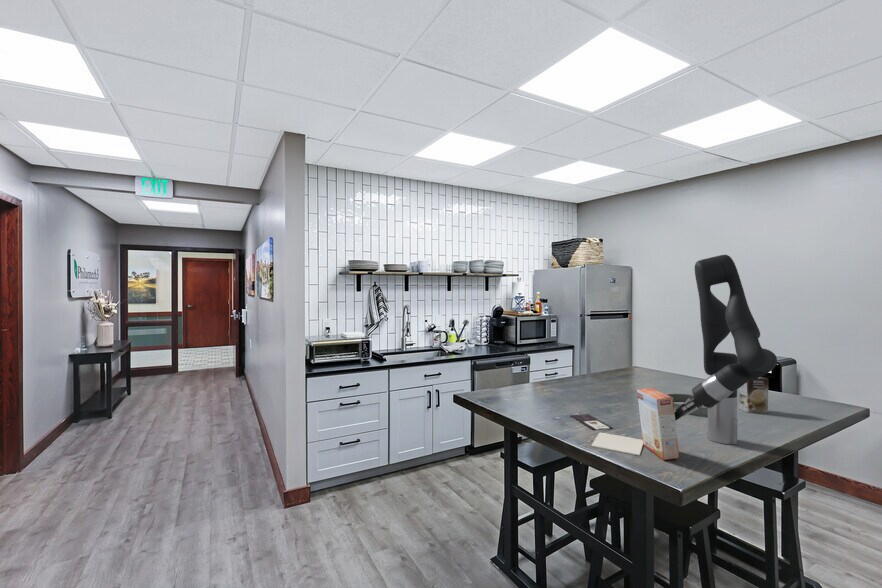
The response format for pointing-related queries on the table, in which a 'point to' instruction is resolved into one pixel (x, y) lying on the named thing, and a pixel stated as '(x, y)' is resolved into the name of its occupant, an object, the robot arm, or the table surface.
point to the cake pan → (683, 399)
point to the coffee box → (754, 396)
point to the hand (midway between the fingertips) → (671, 418)
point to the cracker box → (658, 423)
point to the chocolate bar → (591, 422)
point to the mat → (618, 443)
